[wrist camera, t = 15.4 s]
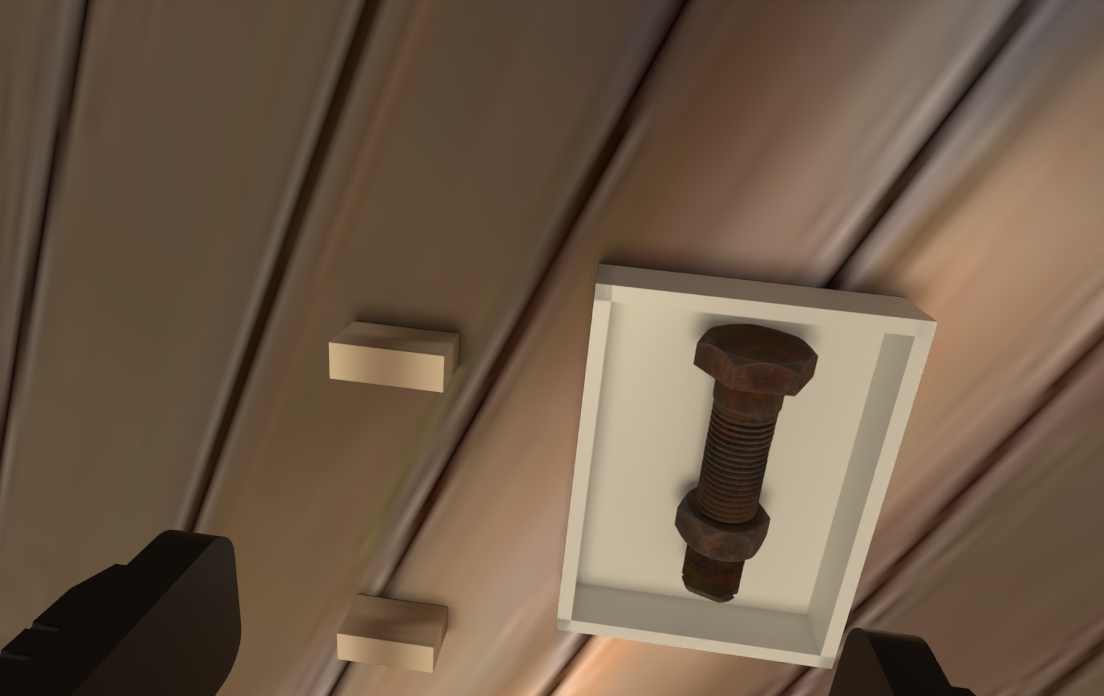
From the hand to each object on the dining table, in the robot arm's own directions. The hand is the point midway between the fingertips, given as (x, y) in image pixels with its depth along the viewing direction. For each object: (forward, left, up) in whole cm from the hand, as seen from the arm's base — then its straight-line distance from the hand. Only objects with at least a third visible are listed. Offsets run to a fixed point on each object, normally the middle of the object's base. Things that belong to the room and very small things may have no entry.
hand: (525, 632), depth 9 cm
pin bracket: (+10, +17, -28) cm, 34 cm away
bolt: (-8, +11, -28) cm, 31 cm away
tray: (-8, +12, -28) cm, 32 cm away
